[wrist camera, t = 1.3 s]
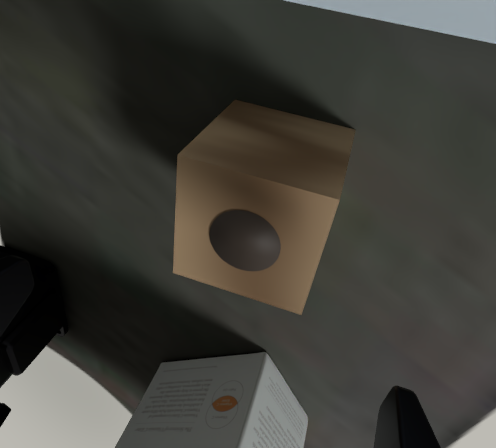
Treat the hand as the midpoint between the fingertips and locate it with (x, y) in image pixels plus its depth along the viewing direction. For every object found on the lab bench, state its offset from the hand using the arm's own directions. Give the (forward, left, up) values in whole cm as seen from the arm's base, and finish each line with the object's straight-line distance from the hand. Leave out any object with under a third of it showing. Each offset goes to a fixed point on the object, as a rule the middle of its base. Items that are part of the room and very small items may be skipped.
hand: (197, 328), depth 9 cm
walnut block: (0, 0, -8) cm, 8 cm away
